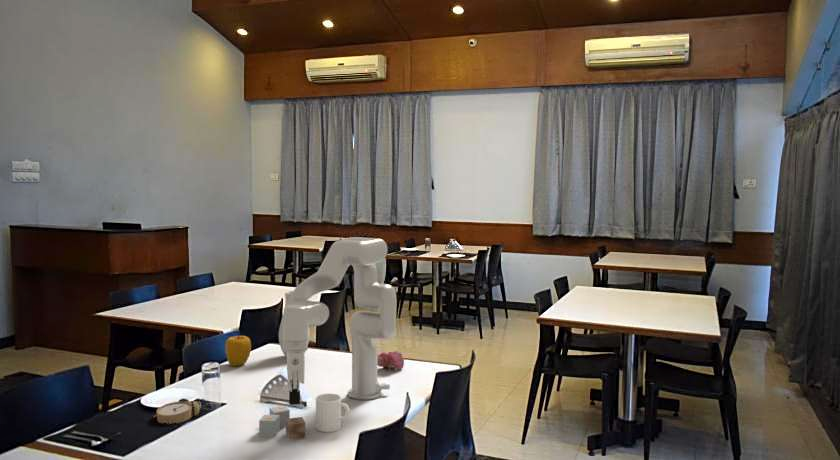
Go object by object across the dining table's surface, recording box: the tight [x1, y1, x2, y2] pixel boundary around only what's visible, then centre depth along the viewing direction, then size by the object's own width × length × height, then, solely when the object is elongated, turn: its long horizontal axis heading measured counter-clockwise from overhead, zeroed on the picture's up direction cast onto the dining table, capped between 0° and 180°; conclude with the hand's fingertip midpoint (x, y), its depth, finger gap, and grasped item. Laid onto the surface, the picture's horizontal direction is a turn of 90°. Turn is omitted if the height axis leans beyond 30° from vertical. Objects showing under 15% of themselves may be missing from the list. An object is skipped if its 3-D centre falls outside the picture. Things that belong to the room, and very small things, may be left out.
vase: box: [278, 290, 310, 358], centre depth 275 cm, size 14×14×30 cm
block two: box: [269, 405, 291, 428], centre depth 198 cm, size 5×5×5 cm
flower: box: [377, 350, 405, 371], centre depth 259 cm, size 11×10×10 cm
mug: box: [315, 393, 351, 433], centre depth 195 cm, size 8×12×10 cm
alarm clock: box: [152, 397, 202, 425], centre depth 203 cm, size 11×5×15 cm
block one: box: [258, 414, 281, 437], centre depth 190 cm, size 5×5×5 cm
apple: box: [224, 335, 252, 367], centre depth 263 cm, size 11×11×13 cm
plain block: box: [285, 416, 306, 441], centre depth 188 cm, size 5×5×5 cm
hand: (294, 403), depth 187 cm, fingers closed
